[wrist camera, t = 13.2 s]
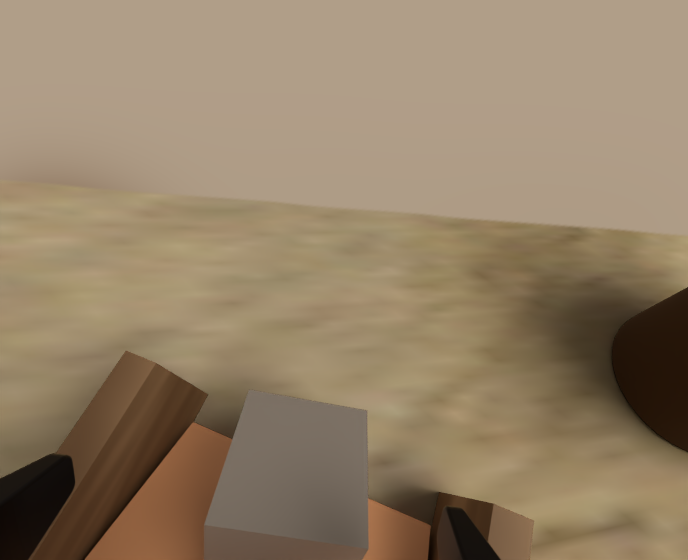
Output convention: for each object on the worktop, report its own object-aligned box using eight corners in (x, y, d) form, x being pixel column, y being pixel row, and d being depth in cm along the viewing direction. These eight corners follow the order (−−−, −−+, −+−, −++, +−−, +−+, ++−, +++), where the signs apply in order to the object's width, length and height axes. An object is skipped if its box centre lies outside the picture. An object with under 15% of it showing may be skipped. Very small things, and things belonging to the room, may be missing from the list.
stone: (334, 492, 19) (366, 410, 15) (326, 619, 15) (368, 548, 11) (239, 477, 19) (249, 389, 15) (203, 603, 14) (204, 524, 11)
